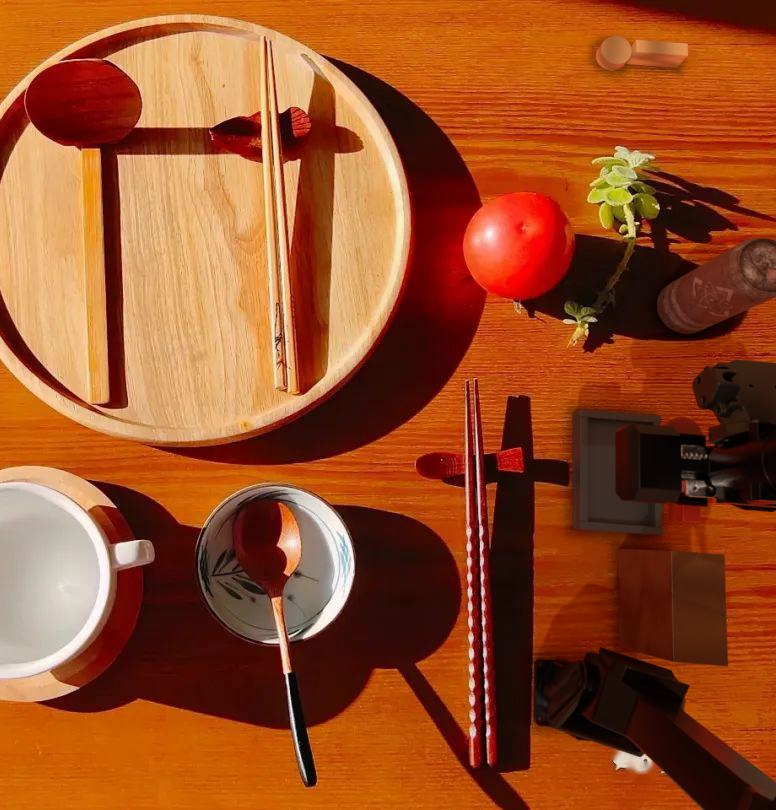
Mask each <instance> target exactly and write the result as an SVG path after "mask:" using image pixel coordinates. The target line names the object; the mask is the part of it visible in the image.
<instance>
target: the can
mask: <svg viewBox="0 0 776 810" xmlns="http://www.w3.org/2000/svg"><path fill="white" fill-rule="evenodd" d="M775 298H776V239H774V238H769V237H755V238H754V237H753V238H747V239H745V240H743V241H741V242H739V243H737V244H736V245H734V246H732V247H731V248H729V249H727V250H725V251H724V252H721V253H720V254H718V255H717V256H715V257H712V259H709V260H708V261H706V262H704V263H702V264H701V265H699V266H698V267H696V268H694V269H692V270H690V271H689V272H687V273H686V274H683V275H682V276H680V277H678V278H676V279H675V280H674V281H672V282H670V283H668V284H667V285H665V286H664V287H663V288H662V289H661V290H660V292H659V294H658V297H657V300H656V311H657V315H658V317H659V319H660V320H661V323H663V324H664V325H665V326H666V327H667V328H668V329H670V330H672V331H673V332H676V333H679V334H684V335H689V334H695V333H698V332H700V331H702V330H705V329H708V328H710V327H713V326H714V325H717V324H719V323H722V322H723V321H726V320H727V319H730V318H732V317H734V316H736V315H737V316H738V315H739V314H741V313H744V312H746V311H748V310H751V309H752V308H755V307H757V306H759V305H762V304H763V303H766V302H769V301H770V300H773V299H775Z"/></svg>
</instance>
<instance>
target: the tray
mask: <svg viewBox="0 0 776 810" xmlns="http://www.w3.org/2000/svg"><path fill="white" fill-rule="evenodd" d="M633 423H634V424H647V425H661V424H662V416H661V415H658V414H656V415H655V414H644V413H630V412H618V411H607V410H606V411H605V410H594V409H578V410H575V411H573V412H572V450H571V451H572V467H571V468H572V469H571V471H572V472H571V473H572V477H571V478H572V481H571V482H572V486H571V487H572V488H571V490H572V491H571V492H572V493H571V494H572V495H571V496H572V499H571V500H572V503H571V504H572V505H571V507H572V513H571V514H572V516H571V518H572V519H571V521H572V523H571V524H572V525H571V527H572V530H578V531H592V532H593V531H594V532H605V533H617V534H630V535H631V534H632V535H642V536H664V506H663V505H664V503H645V502H632V501H622V500H621V499H620V498H619V497H618V496H617V494H616V490H615V432H616V431H618V430H619V429H620V428H621V427H622V426H626V425H629V424H633Z"/></svg>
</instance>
